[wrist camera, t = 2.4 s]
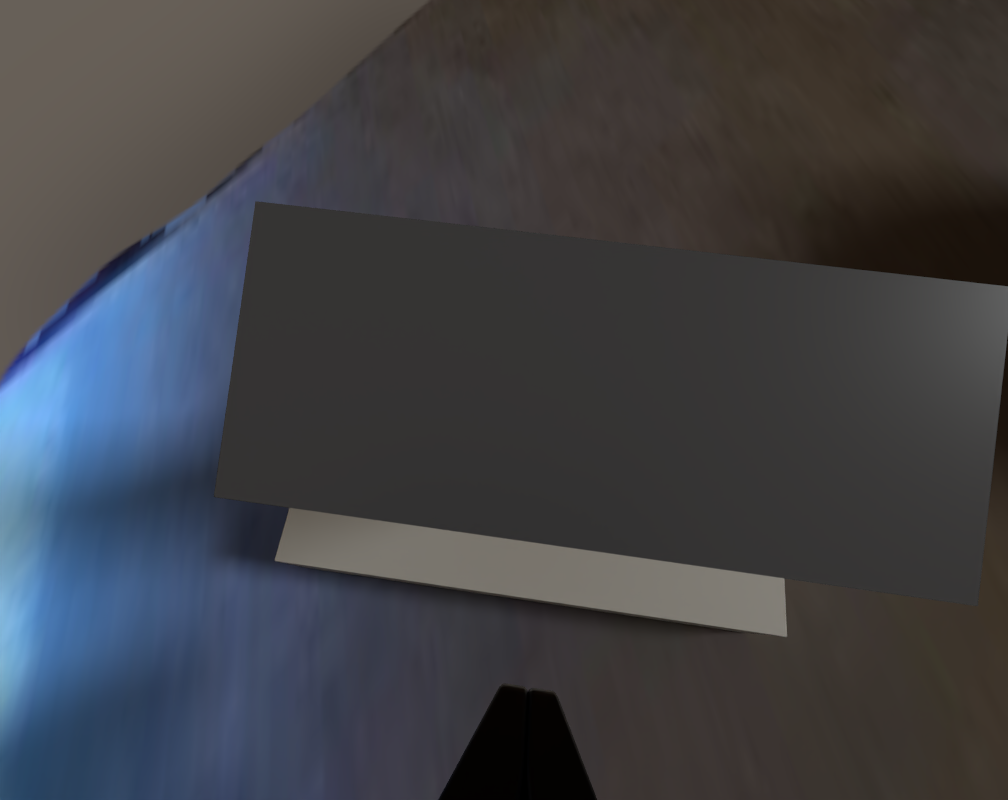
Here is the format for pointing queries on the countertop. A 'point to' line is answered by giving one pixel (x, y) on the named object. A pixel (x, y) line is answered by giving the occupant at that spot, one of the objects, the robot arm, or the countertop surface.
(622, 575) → the base
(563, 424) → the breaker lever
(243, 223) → the countertop surface
